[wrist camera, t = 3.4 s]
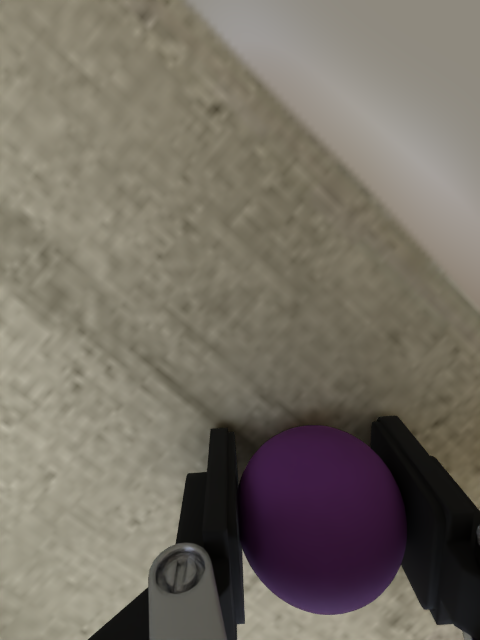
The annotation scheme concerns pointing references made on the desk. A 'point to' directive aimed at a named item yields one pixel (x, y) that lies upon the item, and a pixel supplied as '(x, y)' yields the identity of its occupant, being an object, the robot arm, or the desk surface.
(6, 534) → the desk surface
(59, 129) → the desk surface
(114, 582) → the desk surface
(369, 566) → the ball
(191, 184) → the desk surface
